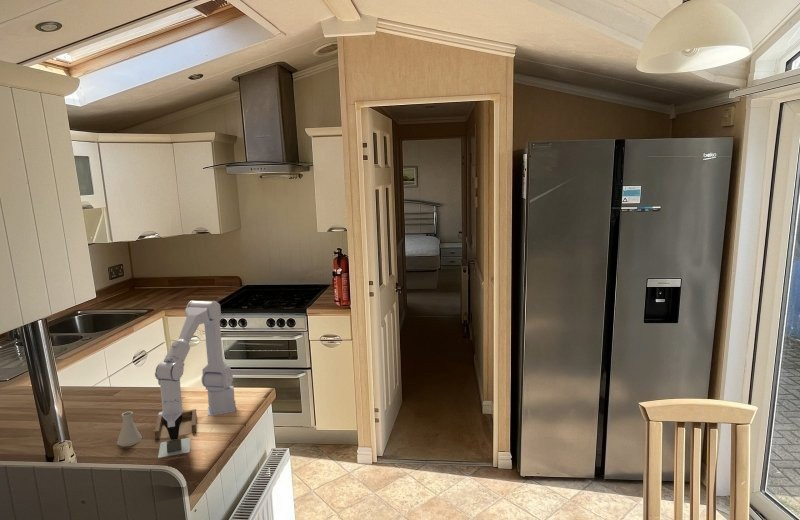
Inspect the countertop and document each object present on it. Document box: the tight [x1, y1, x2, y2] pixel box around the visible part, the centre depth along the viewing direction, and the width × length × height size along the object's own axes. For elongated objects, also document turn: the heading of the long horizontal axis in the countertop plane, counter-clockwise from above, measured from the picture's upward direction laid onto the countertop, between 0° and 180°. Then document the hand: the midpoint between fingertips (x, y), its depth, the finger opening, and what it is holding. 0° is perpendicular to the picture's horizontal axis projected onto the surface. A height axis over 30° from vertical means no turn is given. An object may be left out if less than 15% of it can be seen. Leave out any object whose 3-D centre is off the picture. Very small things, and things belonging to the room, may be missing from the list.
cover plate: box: [157, 437, 191, 459], centre depth 158 cm, size 9×10×4 cm
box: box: [154, 408, 198, 440], centre depth 171 cm, size 12×13×3 cm
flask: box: [115, 411, 143, 448], centre depth 161 cm, size 7×7×10 cm
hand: (174, 438), depth 159 cm, fingers closed
